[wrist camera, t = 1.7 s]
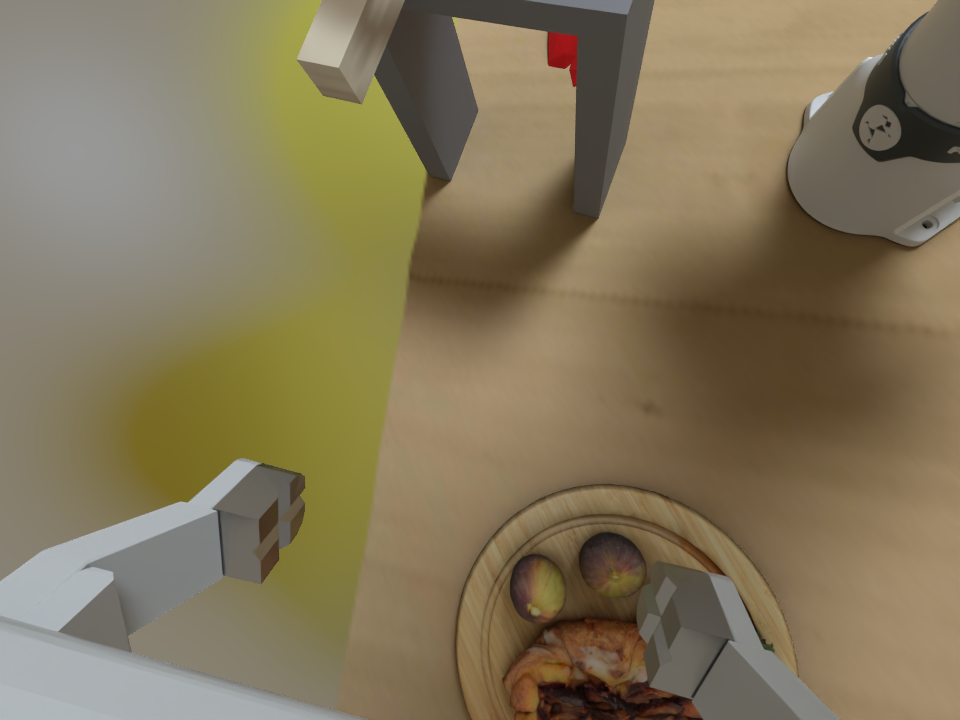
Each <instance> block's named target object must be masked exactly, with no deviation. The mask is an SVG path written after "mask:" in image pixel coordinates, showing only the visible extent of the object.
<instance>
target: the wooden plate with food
mask: <svg viewBox="0 0 960 720" xmlns="http://www.w3.org/2000/svg"><path fill="white" fill-rule="evenodd" d="M657 560H658V561H662V562H666V563H670V564H675V565H679V566H683V567H687V568H692V569H696V570H700V571H703V572H704V571H705V572H710V573H714V574H719V575H723V576H727V577H729V578H730V579H731V580H732V581H733V583H734V585H735V587H736V589H737V591H738V594H739V596H740V598H741V600H742V602H743V605H744V607H745V609H746V611H747V613H748V615H749V618H750V620H751V622H752V624H753V626H754V629H755V631H756V633H757V635H758V637H759V639H760V642H761V644H762V646H763V648H764V650H768V651H772V652H773V653H774V654H775V655H776V656H777V657H778V658H779V659H780V660H781V661H782V662H783V663H784V664H785V665H786V666H787V667H788V668H789V669H790V670H791V671H792V672H793V673H794V674H795V675H796V676H797V677H798V678H799V674H798V666H797V660H796V654H795V650H794V647H793V643H792V639H791V635H790V633H789V630H788V627H787V624H786V621H785V618H784V615H783V613H782V611H781V609H780V607H779V605H778V602H777V600H776V598H775V595H774V593H773V592H772V590H771V588H770V587H769V585H768V583H767V582H766V580H765V579H764V577H763V576H762V574H761V573H760V571H759V570H758V569H757V567H756V566H755V565H754V563H753V562H752V561H751V560H750V558H749V557H748V556H747V555H746V554H745V553H744V552H743V550H742V549H741V548H740V547H739V546H738V545H737V544H736V543H735V542H734V541H733V540H732V539H731V538H730V537H729V536H728V535H727V534H726V533H724V532H723V531H722V530H721V529H720V528H718V527H717V526H716V525H715V524H713V523H712V522H711V521H709V520H708V519H706V518H705V517H704V516H702V515H701V514H699V513H698V512H696V511H695V510H693V509H691V508H690V507H688V506H686V505H684V504H682V503H680V502H678V501H675V500H673V499H671V498H669V497H666V496H663V495H661V494H658V493H656V492H652V491H648V490H644V489H640V488H635V487H630V486H621V485H612V484H597V485H587V486H580V487H574V488H570V489H566V490H562V491H559V492H556V493H553V494H551V495H548V496H546V497H543V498H541V499H539V500H537V501H535V502H534V503H532V504H530V505H529V506H527V507H526V508H524V509H522V510H521V511H519V512H518V513H517V514H515V515H514V516H513V517H511V518H510V519H509V520H508V521H507V522H506V523H505V524H503V525H502V526H501V527H500V528H499V529H498V530H497V532H496V533H495V534H494V535H493V536H492V538H491V539H490V540H489V541H488V542H487V544H486V545H485V547H484V548H483V550H482V551H481V553H480V554H479V556H478V558H477V560H476V561H475V563H474V565H473V567H472V570H471V572H470V574H469V576H468V578H467V581H466V584H465V587H464V590H463V593H462V596H461V602H460V607H459V612H458V617H457V631H456V660H457V668H458V675H459V680H460V685H461V690H462V694H463V697H464V700H465V704H466V707H467V710H468V712H469V715H470V717H471V720H703V718H702V717H701V715H700V714H699V712H698V711H697V709H696V708H695V706H694V705H693V703H692V702H691V701H692V700H693V699H689V698H686V697H682V696H679V695H676V694H672V693H669V692H665V691H662V690H659V689H655V688H652V687H649V682H648V677H647V672H646V667H645V662H644V657H643V653H644V651H645V648H646V646H647V643H646V642H645V640H644V639H643V638H642V637H641V635H640V634H639V631H638V625H637V612H636V611H637V604H638V598H639V595H640V593H641V590H642V588H643V587H644V586H646V585H647V584H649V583H651V578H650V574H649V572H650V570H651V568H652V566H653V564H654V563H655V562H656V561H657Z"/></svg>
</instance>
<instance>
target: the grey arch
mask: <svg viewBox="0 0 960 720" xmlns="http://www.w3.org/2000/svg"><path fill="white" fill-rule="evenodd" d="M653 5H654V0H405V1H404V4H403V6H402V8H401V11H400V13H399V16H398V18H397V20H396V23H395V25H394V28H393V30H392V33H391V35H390V37H389V40H388V42H387V45H386V47H385V49H384V52H383V54H382V57H381V59H380V61H379V64H378V66H377V69H376V71H375V74H374V75H375V77H376V79H377V80H378V82H379V84H380V86H381V88H382V90H383V91H384V93H385V95H386V97H387V99H388V101H389V102H390V104H391V106H392V108H393V110H394V112H395V113H396V115H397V117H398V119H399V121H400V123H401V124H402V126H403V128H404V130H405V132H406V134H407V135H408V137H409V139H410V141H411V143H412V145H413V146H414V148H415V150H416V152H417V154H418V156H419V157H420V159H421V161H422V163H423V164H424V167H425V168H426V170H427V172H428V174H429V176H432V177H436V178H440V179H444V180H448V181H451V179H452V177H453V174H454V172H455V169H456V166H457V164H458V161H459V159H460V156H461V154H462V151H463V149H464V146H465V143H466V141H467V138H468V136H469V133H470V131H471V128H472V125H473V123H474V120H475V118H476V115H477V113H478V108H477V104H476V101H475V97H474V94H473V90H472V86H471V83H470V79H469V76H468V72H467V69H466V65H465V62H464V58H463V54H462V51H461V47H460V44H459V40H458V37H457V33H456V30H455V26H454V22H453V19H452V17H457V18H464V19H470V20H477V21H483V22H490V23H496V24H502V25H509V26H515V27H522V28H528V29H535V30H541V31H547V32H554V33H560V34H567V35H573V36H578V41H577V83H576V125H575V166H574V208H573V212H575V213H579V214H583V215H587V216H591V217H595V218H599V215H600V212H601V210H602V207H603V204H604V201H605V199H606V196H607V193H608V190H609V187H610V185H611V182H612V179H613V176H614V173H615V171H616V168H617V165H618V162H619V160H620V157H621V154H622V151H623V148H624V146H625V143H626V139H627V134H628V129H629V124H630V119H631V114H632V109H633V104H634V99H635V94H636V89H637V84H638V79H639V74H640V69H641V64H642V59H643V54H644V49H645V44H646V39H647V34H648V29H649V24H650V19H651V14H652V10H653Z"/></svg>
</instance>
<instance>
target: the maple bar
mask: <svg viewBox="0 0 960 720" xmlns="http://www.w3.org/2000/svg"><path fill="white" fill-rule="evenodd" d="M404 1H405V0H322V2H321V4H320V6H319V9H318V11H317V13H316V16H315V18H314V20H313V23H312V25H311V27H310V30H309V32H308V34H307V37H306V39H305V41H304V44H303V46H302V48H301V51H300V53H299V55H298V57H297V61H298V62H299V63H300V65H301V66H302V67H303V69H304V70H305V72H306V73H307V74H308V75H309V77H310V78H311V80H312V81H313V82H314V84H315V85H316V87H317V88H318V89H319V91H320V92H321V93H322V95H323V96H326V97H331V98H336V99H340V100H344V101H349V102H354V103H358V104H362V102H363V100H364V98H365V95H366V93H367V90H368V88H369V86H370V83H371V81H372V78H373V76H374V74H375V71H376V69H377V66H378V64H379V61H380V59H381V57H382V54H383V52H384V49H385V47H386V45H387V42H388V40H389V37H390V35H391V33H392V30H393V28H394V25H395V23H396V20H397V18H398V16H399V13H400V11H401V8H402V6H403V4H404Z"/></svg>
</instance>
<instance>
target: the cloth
mask: <svg viewBox="0 0 960 720" xmlns="http://www.w3.org/2000/svg"><path fill="white" fill-rule="evenodd" d="M577 41H578V36H573V35H567V34H560V33H554V32H549V44H548V46H549V66H551V67H557V68H563V69H565V68H567V67H568V66H569V65H570V64H571V66H570V70H569V71H570V74H571V79H572V83H573V86H575V85H576V83H577Z"/></svg>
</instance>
